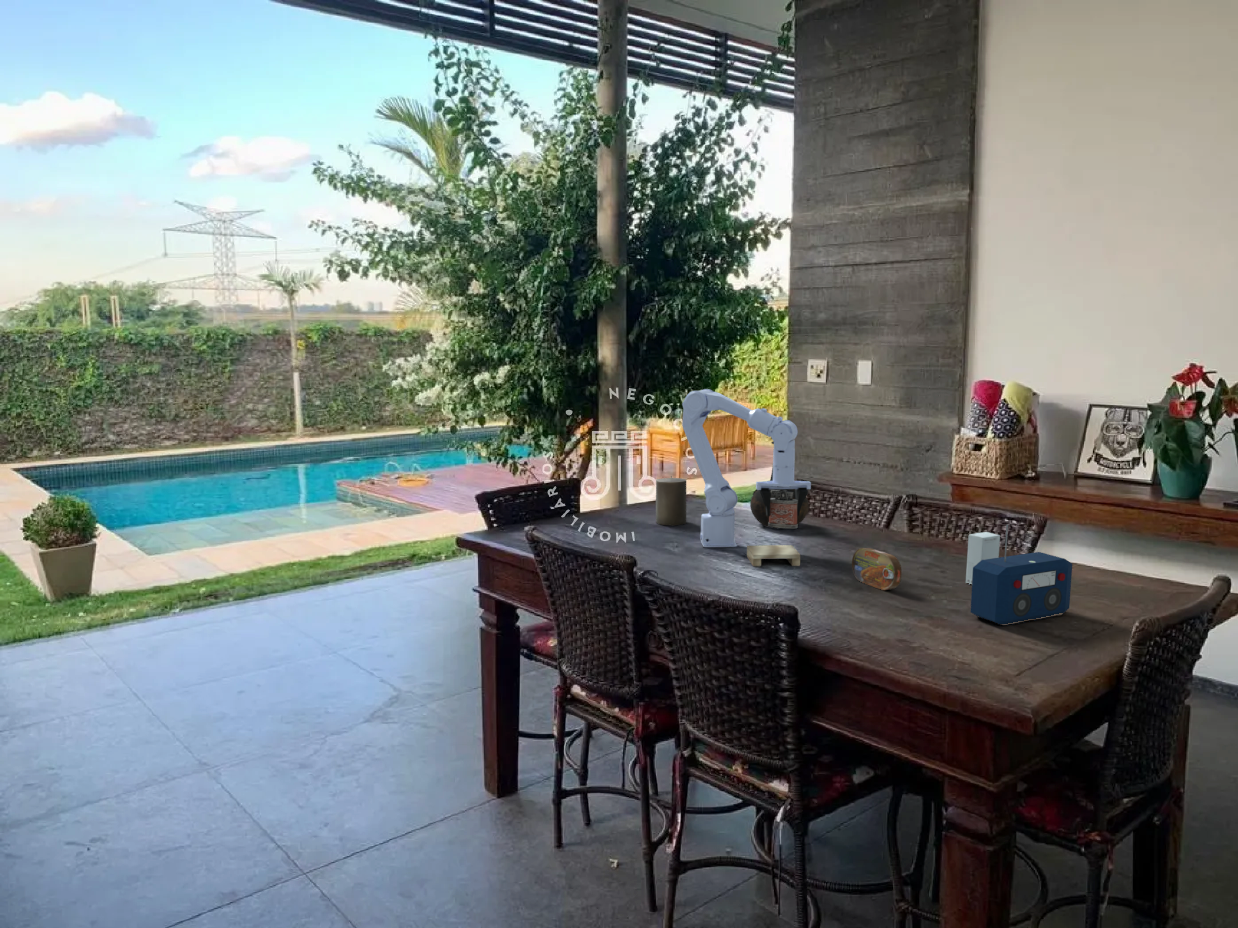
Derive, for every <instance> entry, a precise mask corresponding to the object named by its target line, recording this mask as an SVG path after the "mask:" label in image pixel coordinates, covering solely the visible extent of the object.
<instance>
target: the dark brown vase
mask: <svg viewBox="0 0 1238 928" xmlns="http://www.w3.org/2000/svg"><path fill="white" fill-rule="evenodd" d="M771 444H772V445H774V441H773V440H772V441H771ZM771 469H772V470H771V475H770V480H769V481H773V466H772V468H771ZM777 487H778V486H777ZM769 490H770V493H771V491H772V490H780V491H783V490H787V492H793V498H792V499H796V497H795V489H769ZM775 496H776V495H771V498H775ZM778 498H780V496H779V495H778ZM789 499H790V497H789ZM749 505H750V506H749V507H750V510H751V513H752V515H753V516H754V518H755V520H756V521H757V522H759V523H760V525H763V526H764V527H767V528H770V529H777V528H778V527H770V526H768V522H769V516H767V515H766V509H765V505H764V502H763V499H762V496H761V494H760V492H759V490H757V489H756V488H755V490H754V491H753V492H752V496H751V498H750V504H749ZM809 505H810V504H809V501H808V498H807V497H806V498H805V499H804V502H803V504H802V507H801V510H800V514H799V516H797V524H798V525H799V524H801V523H802V522H803V520H805V518H806V517H807V515H808V511H809V508H810V507H809ZM780 529H783V528H780Z"/></svg>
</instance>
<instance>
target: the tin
mask: <svg viewBox="0 0 1238 928" xmlns="http://www.w3.org/2000/svg"><path fill="white" fill-rule="evenodd" d="M851 569H852V573H853V575H854V577H855V578H856V580H857V581H858V582H859V581H860V582H859V583H861V582H862V584H864V583H865V584H864V585H868V586H870V587H872V588H876V589H877V590H880V589H881V591H887V590H889V591H890V590H894V589H895V588H898V586H899V585H900V583H901V579H902V575H903V574H902V565H901V563H900V561H899V559H898V558H897V557H896V556H895V555H893V554H890V553H888V552H885V551H882V550H878V549H874V548H870V547H867V548H865V547H860V548H858V549H856V550H855V551H854V553H853V555H852V560H851Z"/></svg>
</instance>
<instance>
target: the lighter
mask: <svg viewBox="0 0 1238 928" xmlns="http://www.w3.org/2000/svg"><path fill="white" fill-rule="evenodd" d="M771 495H776V496H775V498H771V499H770V516H769V522H768V526H770V527H778V528H782V529H797V528H798V527H799V526H798V525H799V524H797V503H798V500H796V499H792V498H793V492H787V490H783V491H780V490H772V491H771ZM778 495H779V496H780V498H778ZM789 497H790V499H789Z"/></svg>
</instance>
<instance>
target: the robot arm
mask: <svg viewBox="0 0 1238 928" xmlns="http://www.w3.org/2000/svg"><path fill="white" fill-rule="evenodd" d="M681 406H682V408H683V411H682V412H683V413H682V423H681V424H682V429H683V431H684V434H685V437H686V439H687V442H688V444H689V447H690V449H691V452H692V455H693V456H694V459H695V462H696V464H697V467H698V469H699V472H700V475H701V476H702V479H703V481H704V491H703V492H704V496H705V506H706V509H707V510H708V512H707V513H702V514H701V516H700V534H699V538H700V539H699V540H700V543H701V545H702V547H703V548H737V547H738V544H737V543H736V541H735V510H734V508H735V506H736V505H737V503H738V500H739V498H738V495H737V491H735V490H734V489H733V488H732V487H731V485H730V483H729V481H728V480H727V479H725V477H724V476H723V474H722V472H721V469H720V466H719V464H718V461H717V459H716V456H715V454H714V451H713V449H712V446H711V444H710V442H709V439H708V436H707V434H706V432H705V429H704V427H703V425H704V423H705V421H706V419H707V417H708V415H709V414H710V413H711V412H712V411H723V412H725V413H727V414H730V415H732V416H735V417H736V418H739V419H742V420H744V421H746V423H747V425H748V427H749V428H750V429H752V430H754V431H756V432H759V433H761V434H763V435H764V436H767V438H771V440H772V442H773V441H774V444H773V451H772V452H773V456H772V457H773V458H772V467H773V481H770V480H766V481H756V482H755V490H756V489H757V490H759V492H760V494H761V496H762V499H763V502H764V505H765V509H766V515H767V516H770V499H771V493H770V490H769V489H795V497H796V500H798V503H797V516H799V514H800V510H801V507H802V504H803V502H804V499H805V498H807V496H808V494H809V490H811V488H812V487H811V486H812V482H811V481H808V480H806V481H805V480H804V481H803V480H795V464H796V463H795V462H796V460H795V459H796V449H795V446H796V442H795V441H796V440H795V439H796V438H797V436H798V427H797V425H796V424H795V422H792V421H791V420H789V419H785V420H783V416H775V415H773V414H771V413H769V412H768V409H766V408H755V409H750V408H749V407H746V406H745V405H742V404H741V403H739V402H737V401H735V400H733V399H731V398H730V397H728V396H726V395H724V394H722V393H720V392H718V391H714V390H712V389H708V388H704V389H701V390H692V391H689V393H687V395H686V396H685V398H684V400H683V401H682V405H681ZM777 486H778V487H777Z"/></svg>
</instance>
